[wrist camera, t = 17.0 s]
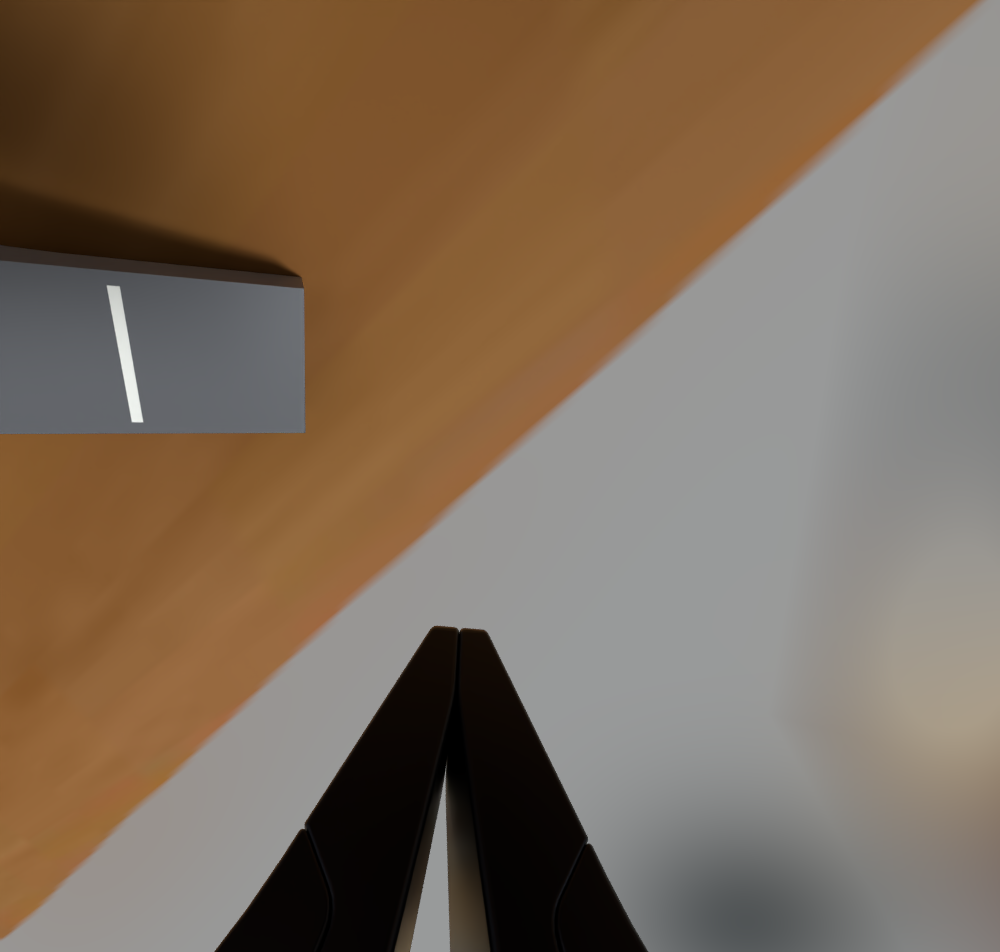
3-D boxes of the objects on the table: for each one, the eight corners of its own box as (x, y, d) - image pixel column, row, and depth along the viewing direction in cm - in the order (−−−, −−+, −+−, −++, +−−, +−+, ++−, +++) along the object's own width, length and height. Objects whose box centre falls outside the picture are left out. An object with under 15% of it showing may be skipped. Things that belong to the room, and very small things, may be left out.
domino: (304, 289, 17) (-141, 247, 13) (305, 433, 19) (-68, 434, 15) (301, 276, 18) (-104, 236, 14) (302, 413, 20) (-42, 410, 17)
